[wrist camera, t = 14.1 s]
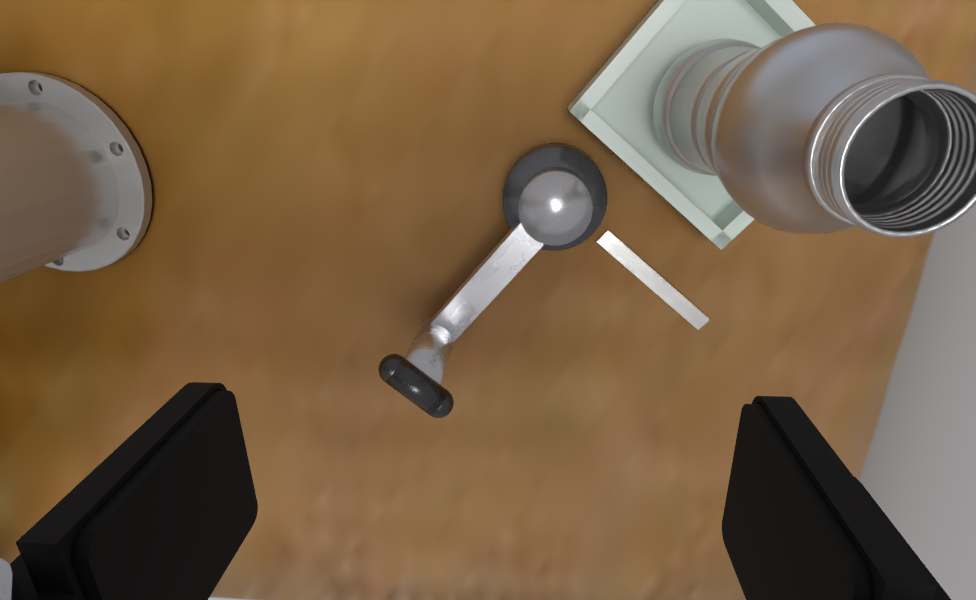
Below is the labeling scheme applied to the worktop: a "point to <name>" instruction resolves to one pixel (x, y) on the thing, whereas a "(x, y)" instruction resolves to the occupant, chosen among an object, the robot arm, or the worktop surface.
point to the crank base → (595, 183)
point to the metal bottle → (823, 131)
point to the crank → (489, 284)
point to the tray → (632, 88)
